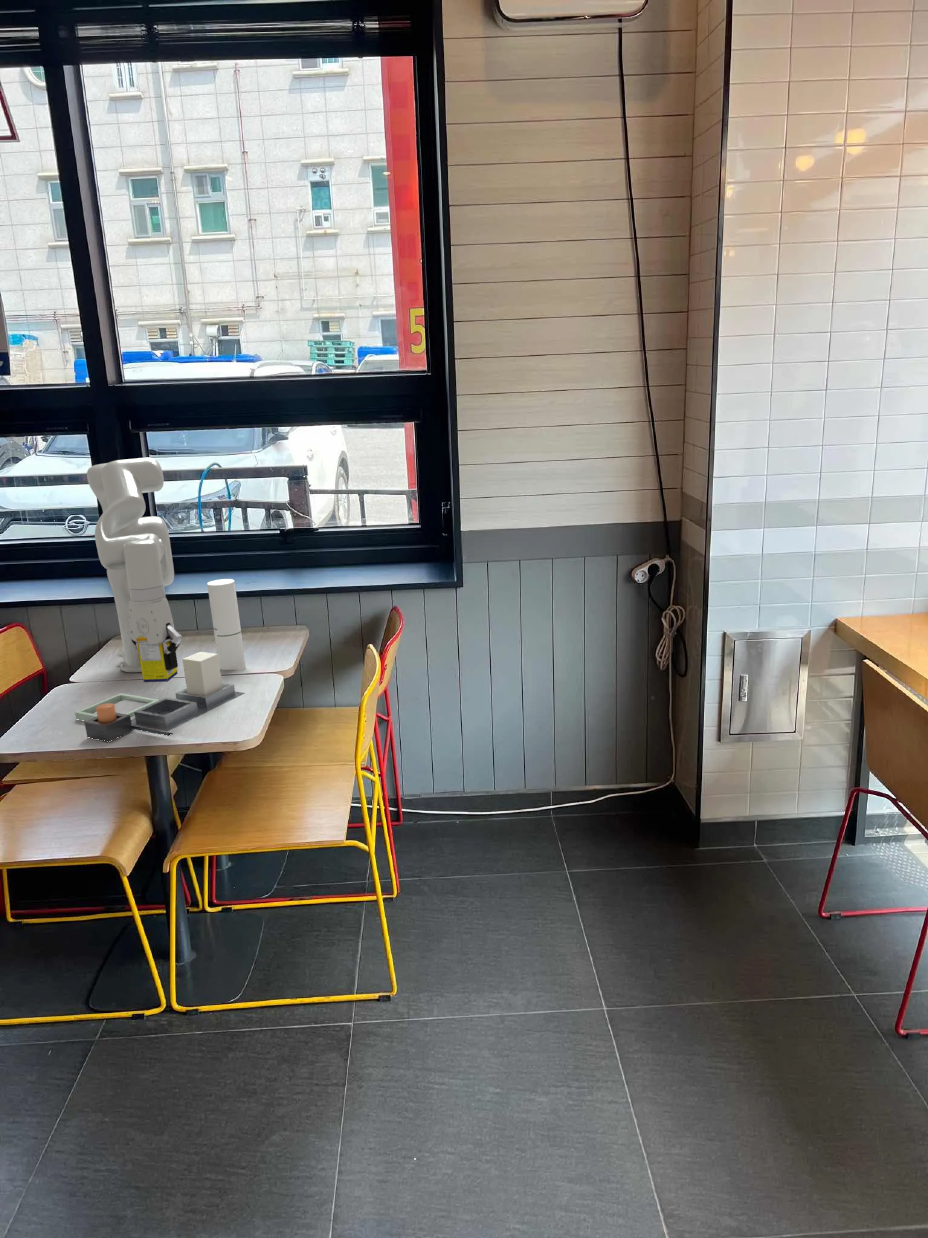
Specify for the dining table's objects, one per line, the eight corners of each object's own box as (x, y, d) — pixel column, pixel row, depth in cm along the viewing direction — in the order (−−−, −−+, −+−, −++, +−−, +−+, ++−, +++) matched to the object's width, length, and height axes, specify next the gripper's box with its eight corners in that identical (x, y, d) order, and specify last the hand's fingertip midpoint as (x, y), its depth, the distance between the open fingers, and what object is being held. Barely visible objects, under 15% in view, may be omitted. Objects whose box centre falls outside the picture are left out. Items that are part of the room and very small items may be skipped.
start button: (95, 725, 206) (92, 708, 205) (109, 719, 209) (106, 702, 208) (107, 727, 204) (104, 710, 203) (121, 721, 207) (118, 704, 206)
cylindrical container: (237, 663, 253) (225, 577, 247) (250, 668, 248) (239, 581, 242) (214, 670, 249) (202, 583, 242) (227, 675, 244) (215, 586, 237)
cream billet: (188, 701, 223) (182, 658, 220) (205, 692, 228) (200, 651, 225) (206, 704, 220) (200, 661, 217) (223, 695, 225) (217, 654, 222)
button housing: (87, 738, 206) (84, 722, 205) (111, 727, 212) (109, 711, 211) (108, 742, 203) (105, 726, 201) (132, 731, 208) (130, 715, 207)
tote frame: (76, 720, 218) (74, 712, 217) (121, 700, 229) (120, 693, 229) (116, 728, 211) (114, 720, 210) (161, 707, 223) (160, 699, 222)
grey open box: (125, 727, 211) (123, 712, 210) (204, 690, 233) (202, 677, 232) (168, 736, 204) (166, 720, 203) (245, 697, 226) (244, 683, 225)
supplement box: (178, 673, 213) (171, 629, 210) (167, 682, 207) (160, 637, 204) (154, 674, 213) (147, 630, 210) (143, 683, 208) (135, 637, 205)
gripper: (108, 595, 206) (120, 668, 210) (162, 600, 197) (174, 675, 202) (133, 587, 212) (145, 658, 217) (187, 592, 204) (198, 665, 208)
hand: (159, 666), depth 209 cm, fingers closed on supplement box, 7 cm apart
